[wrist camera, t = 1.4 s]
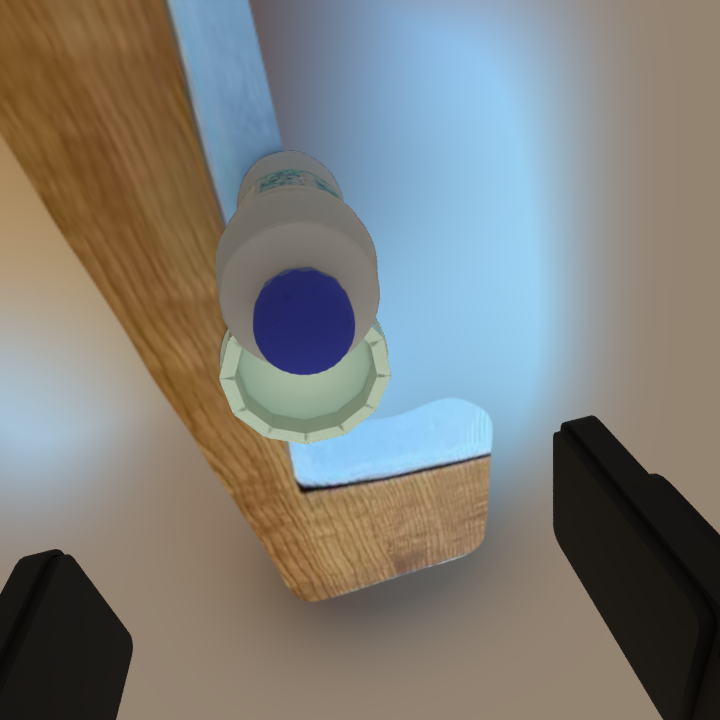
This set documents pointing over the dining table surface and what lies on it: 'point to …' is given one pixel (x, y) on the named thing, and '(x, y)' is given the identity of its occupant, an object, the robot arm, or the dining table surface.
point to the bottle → (296, 267)
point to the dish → (305, 391)
